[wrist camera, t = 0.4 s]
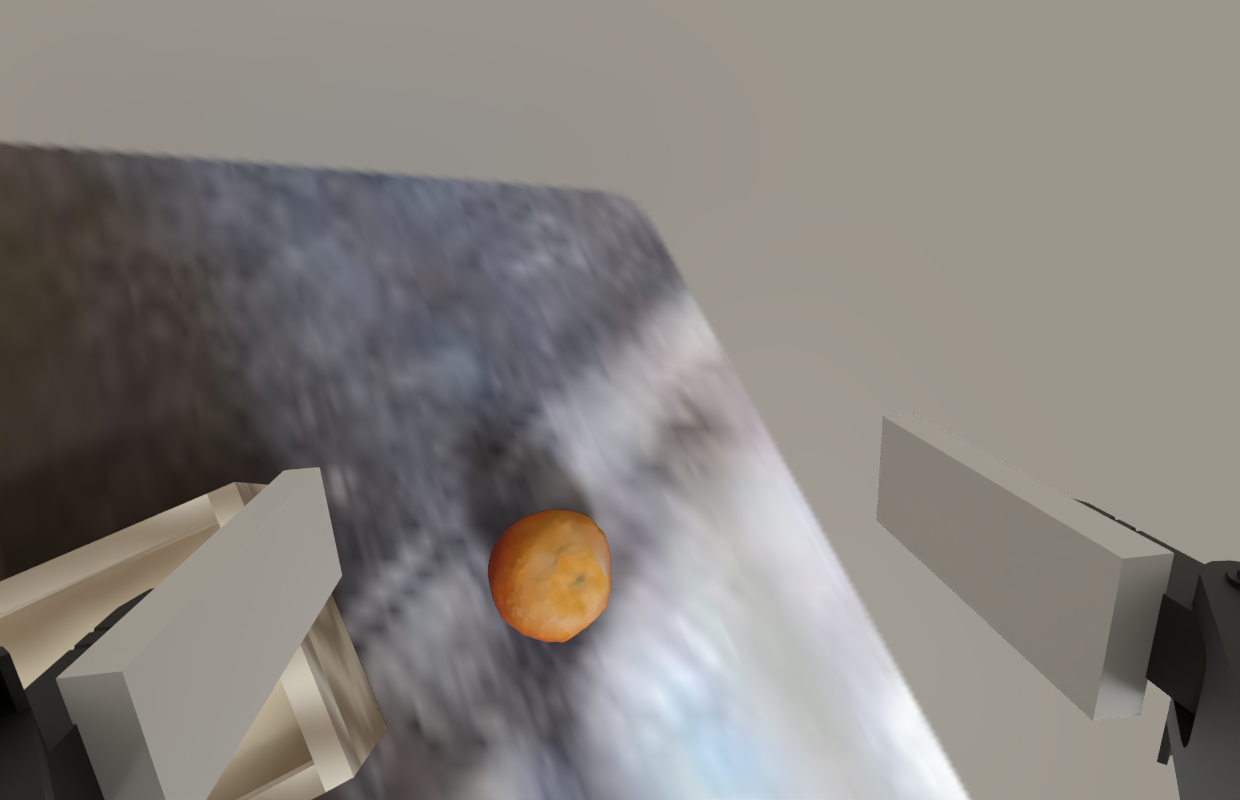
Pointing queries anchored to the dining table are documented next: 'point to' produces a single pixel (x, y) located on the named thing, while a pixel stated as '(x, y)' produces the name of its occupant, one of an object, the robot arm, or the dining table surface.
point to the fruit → (551, 574)
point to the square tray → (296, 708)
